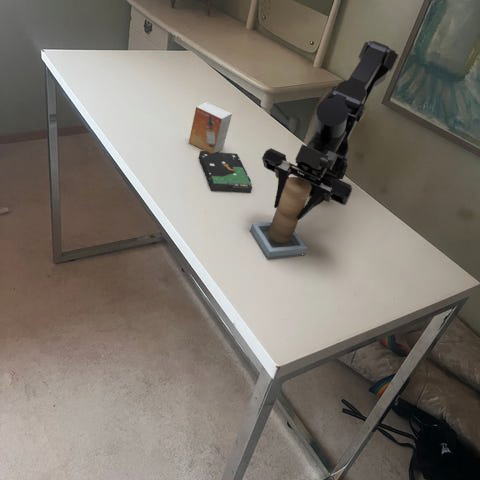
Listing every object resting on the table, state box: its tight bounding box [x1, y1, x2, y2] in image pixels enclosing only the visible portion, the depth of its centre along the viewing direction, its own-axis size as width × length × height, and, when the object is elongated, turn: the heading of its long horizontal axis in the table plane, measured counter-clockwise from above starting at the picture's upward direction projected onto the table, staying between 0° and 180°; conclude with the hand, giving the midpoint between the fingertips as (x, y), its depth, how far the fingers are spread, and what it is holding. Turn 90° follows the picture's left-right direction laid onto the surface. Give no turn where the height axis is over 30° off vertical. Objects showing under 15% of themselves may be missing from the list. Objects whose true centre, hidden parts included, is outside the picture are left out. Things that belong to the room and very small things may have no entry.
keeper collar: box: [249, 221, 308, 260], centre depth 97 cm, size 9×9×2 cm
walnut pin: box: [268, 176, 312, 243], centre depth 92 cm, size 5×5×13 cm
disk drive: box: [198, 150, 253, 194], centre depth 113 cm, size 10×3×15 cm
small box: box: [188, 101, 233, 154], centre depth 120 cm, size 8×6×10 cm
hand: (286, 213), depth 91 cm, fingers closed on walnut pin, 5 cm apart
